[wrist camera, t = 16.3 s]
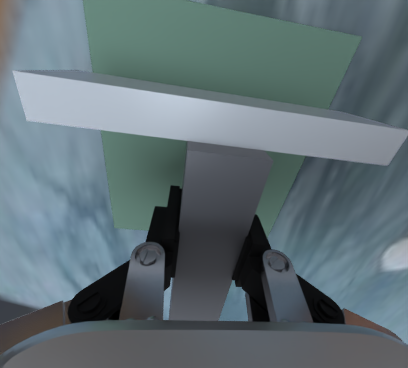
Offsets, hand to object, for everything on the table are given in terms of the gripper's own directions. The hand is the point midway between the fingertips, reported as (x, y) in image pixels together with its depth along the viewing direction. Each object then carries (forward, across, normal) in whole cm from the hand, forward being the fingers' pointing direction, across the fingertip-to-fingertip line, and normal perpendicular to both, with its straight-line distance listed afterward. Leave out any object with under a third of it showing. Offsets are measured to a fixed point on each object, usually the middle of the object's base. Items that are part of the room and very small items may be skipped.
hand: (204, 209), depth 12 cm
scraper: (+2, 0, +1) cm, 2 cm away
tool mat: (+6, 0, -1) cm, 6 cm away
